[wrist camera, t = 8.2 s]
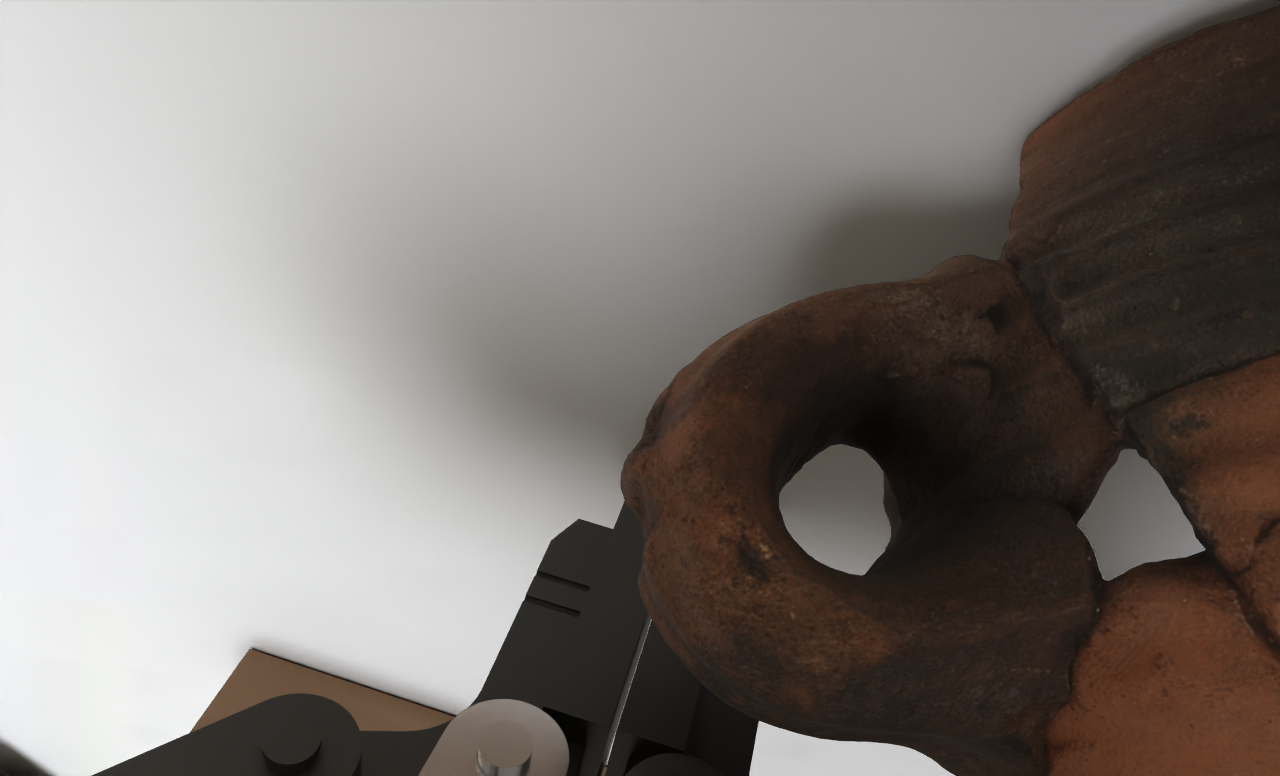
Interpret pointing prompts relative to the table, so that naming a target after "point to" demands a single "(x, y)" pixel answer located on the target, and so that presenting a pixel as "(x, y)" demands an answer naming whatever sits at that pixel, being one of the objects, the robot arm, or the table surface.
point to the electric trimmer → (1, 775)
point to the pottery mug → (1015, 459)
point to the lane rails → (279, 677)
